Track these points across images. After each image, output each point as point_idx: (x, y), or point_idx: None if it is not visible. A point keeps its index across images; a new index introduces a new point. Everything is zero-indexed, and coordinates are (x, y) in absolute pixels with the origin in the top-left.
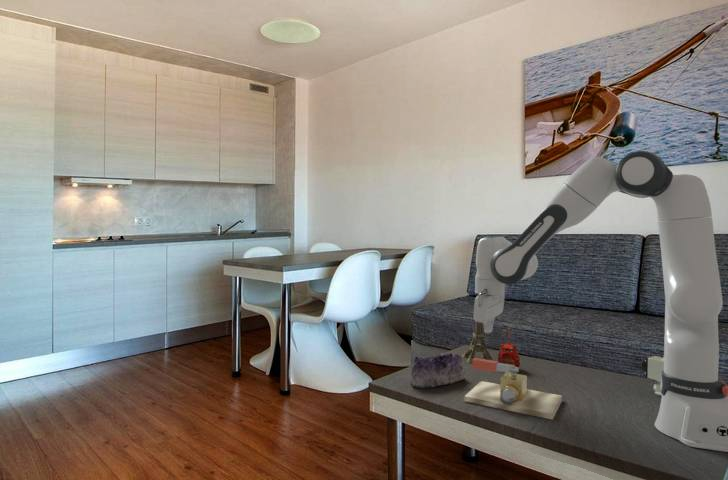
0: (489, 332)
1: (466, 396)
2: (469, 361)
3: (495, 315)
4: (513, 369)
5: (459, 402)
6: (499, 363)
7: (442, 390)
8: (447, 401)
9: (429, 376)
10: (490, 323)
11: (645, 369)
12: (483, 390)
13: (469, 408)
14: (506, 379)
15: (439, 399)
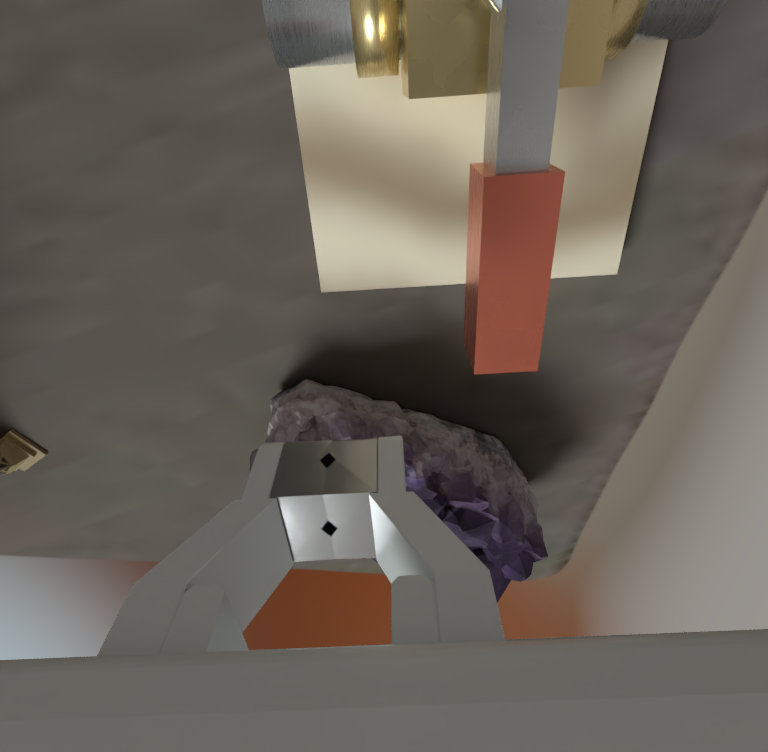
0: (401, 441)
1: (618, 263)
2: (28, 454)
3: (180, 701)
4: None
5: (628, 278)
6: (516, 146)
7: (500, 395)
8: (635, 327)
9: (514, 481)
10: (247, 561)
11: None
12: None
13: (698, 205)
14: (609, 21)
15: (622, 362)
